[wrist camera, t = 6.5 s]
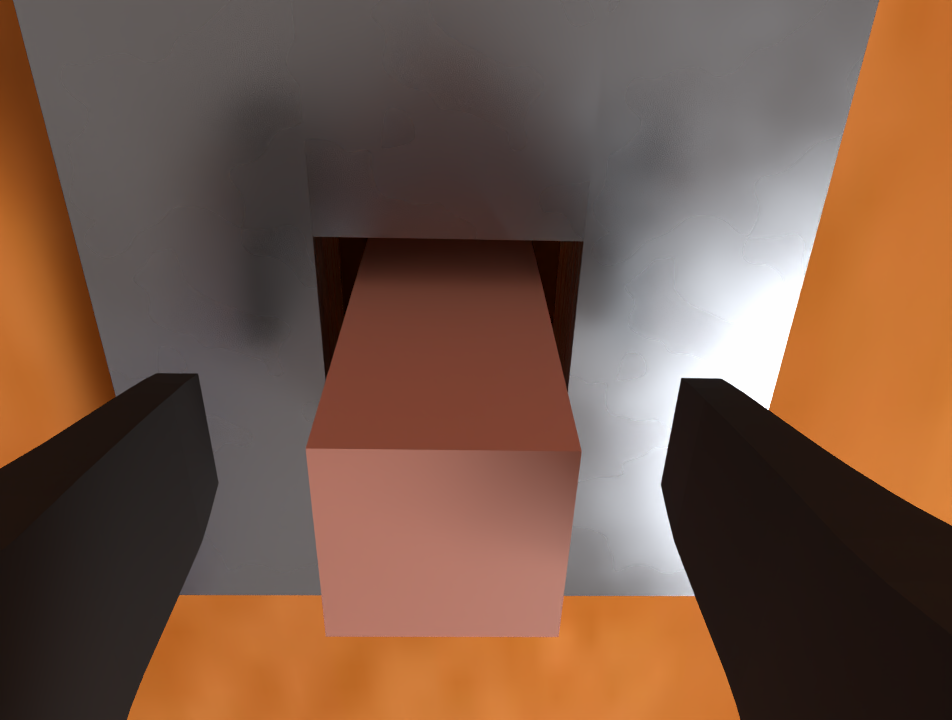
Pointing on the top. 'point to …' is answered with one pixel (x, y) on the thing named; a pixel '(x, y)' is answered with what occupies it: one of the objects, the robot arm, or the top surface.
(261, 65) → the gray slotted base
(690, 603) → the top surface
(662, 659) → the top surface
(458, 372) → the reddish brown rectangular block
